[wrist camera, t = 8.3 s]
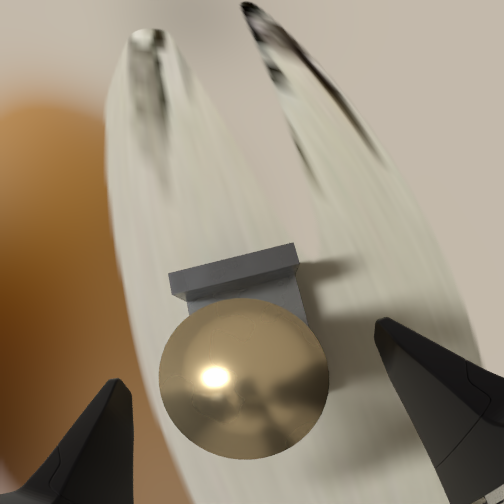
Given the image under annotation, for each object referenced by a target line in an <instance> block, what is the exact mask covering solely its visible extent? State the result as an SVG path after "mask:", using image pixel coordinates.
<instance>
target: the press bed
mask: <svg viewBox="0 0 504 504" xmlns="http://www.w3.org/2000/svg"><path fill="white" fill-rule="evenodd" d="M299 264H300V263H299V260H298V256H297V253H296V249H295V246H294V243H289V244H285V245H281V246H277V247H273V248H269V249H265V250H261V251H257V252H253V253H249V254H245V255H241V256H237V257H233V258H229V259H225V260H221V261H217V262H213V263H209V264H205V265H201V266H196V267H192V268H188V269H184V270H180V271H176V272H172V273H168V274H169V280H170V286H171V292H172V295H174V296H176V297H178V298H180V299H182V300H184V301H186V302H187V306H188V311H189V315H191V314H192V313H194V312H196V311H197V310H199V309H201V308H203V307H205V306H207V305H209V304H212V303H215V302H218V301H221V300H227V299H234V298H249V299H258V300H262V301H267V302H270V303H273V304H276V305H278V306H280V307H282V308H284V309H286V310H288V311H289V312H291V313H292V314H294V315H295V316H297V317H298V318H299V319H300V320H302V321H303V322H304V323H305V324H306V325H307V326H308V327H309V325H308V322H307V318H306V314H305V310H304V307H303V303H302V299H301V296H300V292H299V288H298V285H297V281H296V278H295V274H296V271H297V269H298V266H299Z"/></svg>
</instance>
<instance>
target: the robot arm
mask: <svg viewBox="0 0 504 504" xmlns="http://www.w3.org/2000/svg"><path fill="white" fill-rule="evenodd" d="M374 340H375V344H376V346H377V348H378V351H379V353H380V356H381V358H382V361H383V363H384V366H385V368H386V371H387V373H388V376H389V378H390V380H391V382H392V384H393V386H394V388H395V390H396V392H397V393H398V395H399V397H400V399H401V401H402V403H403V405H404V407H405V409H406V411H407V413H408V415H409V416H410V418H411V420H412V422H413V424H414V426H415V428H416V430H417V432H418V434H419V436H420V438H421V440H422V443H423V445H424V447H425V449H426V451H427V453H428V455H429V457H430V459H431V461H432V464H433V466H434V468H435V470H436V473H437V475H438V477H439V479H440V481H441V484H442V486H443V488H444V490H445V493H446V495H447V497H448V500H449V502H450V504H471V503H473V502H475V501H477V500H479V499H480V498H482V497H484V498H485V500H486V501H485V502H484V503H483V504H504V378H503V377H501V376H498V375H496V374H494V373H492V372H489V371H487V370H485V369H483V368H481V367H479V366H477V365H475V364H473V363H472V362H470V361H468V360H465V359H464V358H462V357H460V356H459V355H457V354H455V353H453V352H451V351H450V350H448V349H446V348H444V347H442V346H440V345H439V344H437V343H435V342H433V341H431V340H429V339H427V338H426V337H424V336H422V335H420V334H418V333H416V332H415V331H413V330H411V329H409V328H407V327H405V326H404V325H402V324H400V323H398V322H396V321H394V320H392V319H391V318H389V317H384V318H381V319H378V320H377V321H376V323H375V333H374ZM133 441H134V426H133V408H132V395H131V392H130V391H129V389H128V388H127V387H126V386H125V384H124V383H123V382H122V381H121V380H120V379H119V378H116V379H110V380H108V381H107V382H106V384H105V385H104V386H103V387H102V389H101V390H100V391H99V392H98V394H97V395H96V396H95V397H94V399H93V400H92V401H91V402H90V404H89V405H88V406H87V408H86V409H85V410H84V412H83V413H82V414H81V415H80V417H79V418H78V419H77V420H76V422H75V423H74V424H73V426H72V427H71V428H70V429H69V431H68V432H67V433H66V435H65V436H64V437H63V439H62V440H61V441H60V443H59V444H58V446H57V447H56V448H55V449H54V450H53V452H52V453H51V454H50V455H49V457H48V458H47V459H46V461H45V462H44V463H43V464H42V465H41V466H40V468H39V469H38V470H37V471H36V472H35V473H34V474H33V475H32V476H31V477H30V479H29V480H28V481H27V482H26V483H25V484H24V485H23V486H22V487H21V488H20V489H18V490H16V491H14V492H10V493H6V494H0V504H134V502H133V445H134V443H133Z"/></svg>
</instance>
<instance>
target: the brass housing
mask: <svg viewBox="0 0 504 504" xmlns="http://www.w3.org/2000/svg"><path fill="white" fill-rule="evenodd" d="M159 387H160V393H161V397H162V400H163V403H164V406H165V409H166V411H167V413H168V415H169V417H170V418H171V420H172V421H173V423H174V424H175V426H176V427H177V428H178V429H179V430H180V431H181V433H182V434H184V435H185V436H186V437H187V438H188V439H189V440H190V441H192V442H193V443H195V444H196V445H197V446H199V447H201V448H203V449H204V450H206V451H208V452H211V453H213V454H216V455H219V456H223V457H227V458H232V459H258V458H264V457H268V456H272V455H275V454H277V453H280V452H282V451H284V450H286V449H288V448H290V447H292V446H293V445H295V444H296V443H297V442H299V441H300V440H301V439H302V438H303V437H304V436H305V435H307V434H308V433H309V431H310V430H311V429H312V428H313V426H314V425H315V424H316V422H317V421H318V419H319V417H320V415H321V414H322V411H323V409H324V406H325V404H326V400H327V396H328V389H329V371H328V365H327V360H326V357H325V354H324V351H323V349H322V347H321V345H320V343H319V341H318V339H317V338H316V336H315V335H314V333H313V332H312V331H311V330H310V329H309V327H308V326H307V325H306V324H305V323H304V322H303V321H302V320H300V319H299V318H298V317H297V316H295V315H294V314H292V313H291V312H289V311H288V310H286V309H284V308H282V307H280V306H278V305H276V304H273V303H270V302H267V301H262V300H258V299H249V298H234V299H227V300H221V301H218V302H215V303H212V304H209V305H207V306H205V307H203V308H201V309H199V310H197V311H196V312H194V313H192V314H191V315H190V316H189V317H187V318H186V319H185V320H184V321H183V322H182V323H181V324H180V325H179V326H178V327H177V328H176V330H175V331H174V332H173V334H172V335H171V336H170V338H169V340H168V342H167V344H166V346H165V348H164V351H163V354H162V357H161V362H160V367H159Z"/></svg>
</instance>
